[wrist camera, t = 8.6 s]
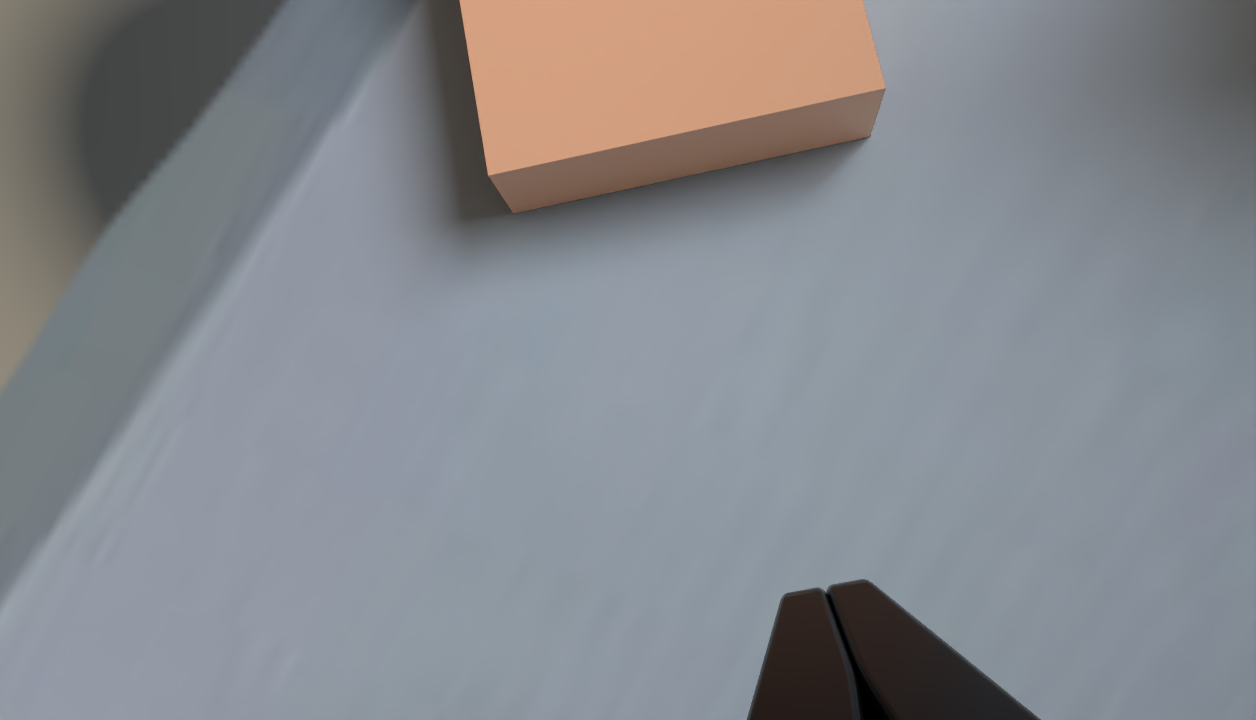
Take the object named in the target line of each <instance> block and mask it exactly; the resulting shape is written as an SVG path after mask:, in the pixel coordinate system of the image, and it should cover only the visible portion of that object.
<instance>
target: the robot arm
mask: <svg viewBox="0 0 1256 720" xmlns="http://www.w3.org/2000/svg"><path fill="white" fill-rule="evenodd" d="M747 720H1041V719H1039V718H1038V717H1037V716H1036V715H1034V714H1033V713H1032V712H1031V711H1029V710H1028V709H1027V708H1026V707H1024V706H1023V705H1022V704H1021V703H1020V702H1018V701H1017V700H1016V699H1015V698H1013V697H1012V696H1011V695H1010V694H1008V693H1007V692H1006V691H1005V690H1004V689H1002V688H1001V687H1000V686H999V685H997V684H996V683H995V682H994V681H992V680H991V679H990V678H989V677H988V676H986V675H985V674H984V673H983V672H981V671H980V670H979V669H978V668H976V667H975V666H974V665H973V664H972V663H970V662H969V661H968V660H967V659H965V658H964V657H963V656H962V655H960V654H959V653H958V652H957V651H955V650H954V649H953V648H952V647H951V646H949V645H948V644H947V643H946V642H944V641H943V640H942V639H941V638H939V637H938V636H937V635H936V634H935V633H933V632H932V631H931V630H930V629H928V628H927V627H926V626H925V625H923V624H922V623H921V622H920V621H919V620H917V619H916V618H915V617H914V616H912V615H911V614H910V613H909V612H907V611H906V610H905V609H904V608H902V607H901V606H900V605H899V604H898V603H896V602H895V601H894V600H893V599H891V598H890V597H889V596H888V595H886V594H885V593H884V592H883V591H882V590H880V589H879V588H878V587H877V586H875V585H874V584H873V583H872V582H870V581H868V580H865V579H861V580H856V581H850V582H845V583H839V584H833V585H830V586H829V587H828V589H827V591H826V592H825V591H824V590H823V589H821V588H812V589H807V590H801V591H796V592H791V593H787V594H785V595H784V596H783V597H782V599H781V601H780V604H779V608H778V611H777V615H776V618H775V622H774V625H773V629H772V632H771V636H770V640H769V643H768V647H767V650H766V654H765V657H764V661H763V664H762V668H761V671H760V675H759V679H758V682H757V686H756V689H755V693H754V696H753V700H752V703H751V707H750V710H749V714H748V717H747Z"/></svg>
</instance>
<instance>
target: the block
mask: <svg viewBox="0 0 1256 720" xmlns="http://www.w3.org/2000/svg"><path fill="white" fill-rule="evenodd" d="M460 6H461V12H462V18H463V24H464V31H465V37H466V43H467V49H468V55H469V61H470V67H471V74H472V80H473V86H474V92H475V98H476V104H477V110H478V117H479V123H480V129H481V135H482V141H483V147H484V154H485V160H486V166H487V172H488V176H489V178H490V179H491V181H492V182H493V184H494V185H495V187H496V188H497V190H498V191H499V193H500V194H501V196H502V197H503V199H504V200H505V202H506V203H507V205H508V206H509V208H510V209H511V211H512V212H513V214H514V213H519V212H523V211H528V210H533V209H537V208H542V207H546V206H551V205H556V204H560V203H565V202H570V201H574V200H579V199H584V198H588V197H593V196H597V195H602V194H607V193H611V192H616V191H621V190H625V189H630V188H634V187H639V186H644V185H648V184H653V183H658V182H662V181H667V180H672V179H676V178H681V177H685V176H690V175H695V174H699V173H704V172H709V171H713V170H718V169H722V168H727V167H732V166H736V165H741V164H746V163H750V162H755V161H760V160H764V159H769V158H773V157H778V156H783V155H787V154H792V153H797V152H801V151H806V150H811V149H815V148H820V147H824V146H829V145H834V144H838V143H843V142H848V141H852V140H857V139H861V138H866V137H870V135H871V132H872V129H873V126H874V123H875V120H876V117H877V113H878V110H879V107H880V104H881V101H882V98H883V95H884V92H885V89H886V87H885V83H884V79H883V76H882V72H881V68H880V64H879V60H878V57H877V53H876V49H875V45H874V41H873V38H872V34H871V30H870V26H869V22H868V18H867V15H866V11H865V7H864V3H863V0H460Z"/></svg>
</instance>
